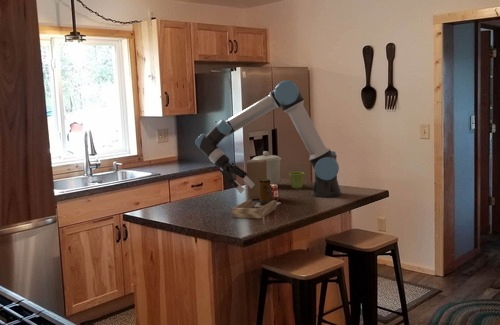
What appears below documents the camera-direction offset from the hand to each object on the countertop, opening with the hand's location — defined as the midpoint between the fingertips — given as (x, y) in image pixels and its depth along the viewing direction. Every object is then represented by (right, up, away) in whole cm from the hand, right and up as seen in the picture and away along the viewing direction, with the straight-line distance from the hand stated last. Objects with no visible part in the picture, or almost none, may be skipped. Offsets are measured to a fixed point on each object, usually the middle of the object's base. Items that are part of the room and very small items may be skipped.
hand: (248, 188), depth 260 cm
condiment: (+9, -8, -3) cm, 12 cm away
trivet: (+10, -8, -3) cm, 13 cm away
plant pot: (+28, -2, +41) cm, 50 cm away
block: (+5, -6, +17) cm, 19 cm away
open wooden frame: (+4, -10, -17) cm, 20 cm away
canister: (+12, -1, +52) cm, 54 cm away
